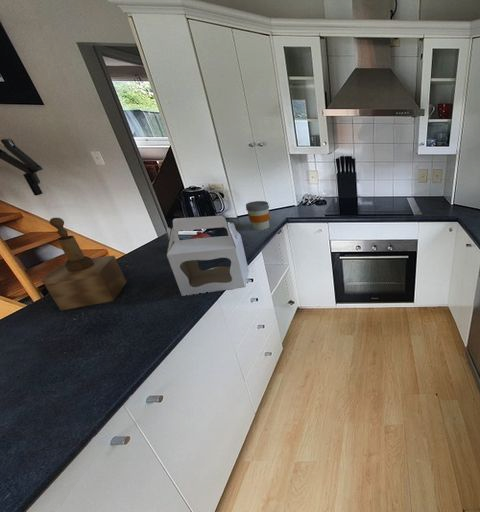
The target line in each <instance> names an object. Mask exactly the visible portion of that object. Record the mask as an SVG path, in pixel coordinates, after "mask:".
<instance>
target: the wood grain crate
mask: <svg viewBox="0 0 480 512" xmlns="http://www.w3.org/2000/svg"><path fill="white" fill-rule="evenodd" d="M91 259H92V261H93V262H94V265H92V266H91V267H89V268H86V269H83V270H79V271H68V270H67V268H66V266H65V263H66V262H67V261H64V262H63V263H61V264H60V265H59V266H58V267H56V269H54V270H53V271H52V272H50V273H49V274H48V275H47V276H45V277H44V278H43V279H41V282H42V283H43V285H44V287H45V288H46V290H47V291H48V293H49V294H50V296H51V297H52V299H53V301H54V302H55V304H56V305H57V307H58V309H59V310H60V311H66V310H72V309H76V308H82V307H87V306H88V307H89V306H95V305H99V304H104V303H110V302H111V303H112V302H114V301H115V299H116V298H117V297H118V296H119V294H120V293H121V292H122V290H123V288H124V287H125V286H126V284H127V280H126V278H125V276H124V273H123V272H122V269H121V267H120V265H119V263H118V261H117V258H116V256H115V255H107V256H101V257H91Z"/></svg>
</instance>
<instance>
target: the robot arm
mask: <svg viewBox="0 0 480 512" xmlns="http://www.w3.org/2000/svg"><path fill="white" fill-rule="evenodd" d="M0 146H1V147H3V148H5V150H7V151H9V152H10V153H11V154H12V155H13V156H12V155H10V154H8V153H7V152H6V151H5V150H3V149H1V148H0V159H1V160H2V161H3V162H6V163H7V164H8V165H11V166H13V167H14V168H17V170H20V171H22V172H24V173H23V174H22V175H23V177H24V179H25V181H26V183H27V185H28V186H29V188H30V191H31V192H32V194H33V195H34V196H40V195H43V194H44V193H43V190H42V189H41V187H40V185H39V184H41V180H40V178H39V176H38V174H37V172H40V171H43V170H44V169H43V166H41V165H40V164H38V163H37V162H36V161H35V160H34V159H33V158H31V157H30V156H29V155H28V154H26V153H25V152H24V151H23V150H22V149H20V148H19V147H18V146H17V145H16V143H15V141H14V140H13V139H12V138H3V139H0Z"/></svg>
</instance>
